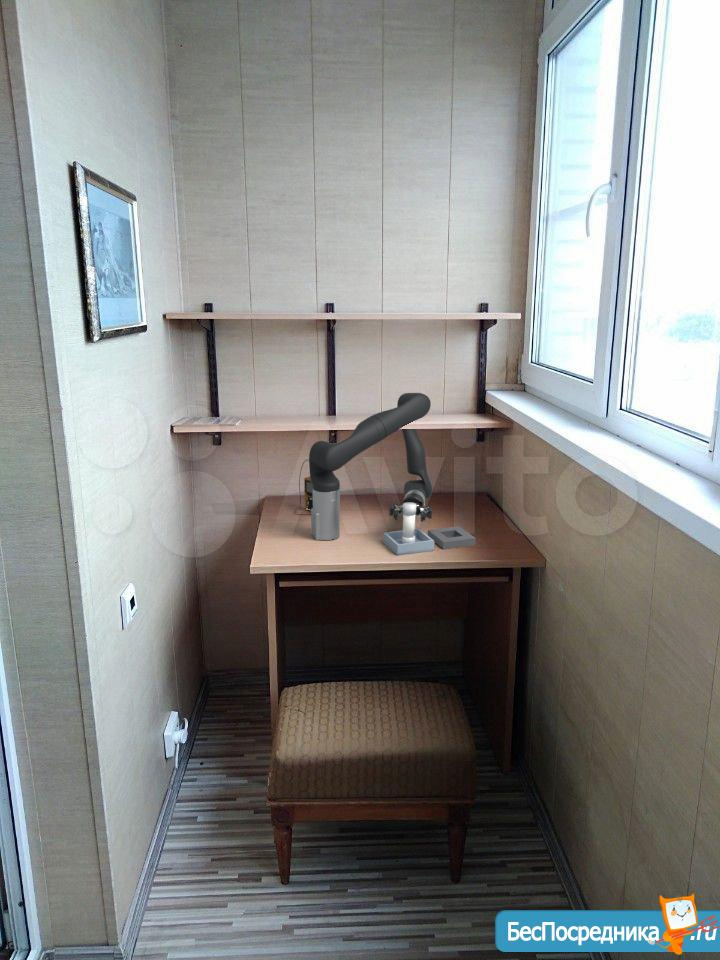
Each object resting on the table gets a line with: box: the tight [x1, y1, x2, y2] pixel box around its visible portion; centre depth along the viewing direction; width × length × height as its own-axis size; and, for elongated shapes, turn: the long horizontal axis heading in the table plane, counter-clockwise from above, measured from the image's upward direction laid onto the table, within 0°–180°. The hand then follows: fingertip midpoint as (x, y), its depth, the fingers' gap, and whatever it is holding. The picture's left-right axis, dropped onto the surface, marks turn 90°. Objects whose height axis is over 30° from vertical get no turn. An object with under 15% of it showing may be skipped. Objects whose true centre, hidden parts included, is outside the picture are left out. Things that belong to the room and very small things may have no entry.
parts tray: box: [383, 528, 435, 556], centre depth 225 cm, size 13×12×4 cm
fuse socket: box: [427, 525, 476, 550], centre depth 230 cm, size 12×12×2 cm
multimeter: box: [298, 459, 313, 510], centre depth 254 cm, size 15×10×20 cm
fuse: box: [402, 502, 416, 544], centre depth 223 cm, size 4×4×14 cm
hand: (409, 518), depth 222 cm, fingers open, 8 cm apart
